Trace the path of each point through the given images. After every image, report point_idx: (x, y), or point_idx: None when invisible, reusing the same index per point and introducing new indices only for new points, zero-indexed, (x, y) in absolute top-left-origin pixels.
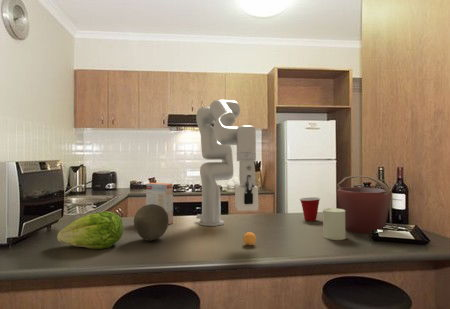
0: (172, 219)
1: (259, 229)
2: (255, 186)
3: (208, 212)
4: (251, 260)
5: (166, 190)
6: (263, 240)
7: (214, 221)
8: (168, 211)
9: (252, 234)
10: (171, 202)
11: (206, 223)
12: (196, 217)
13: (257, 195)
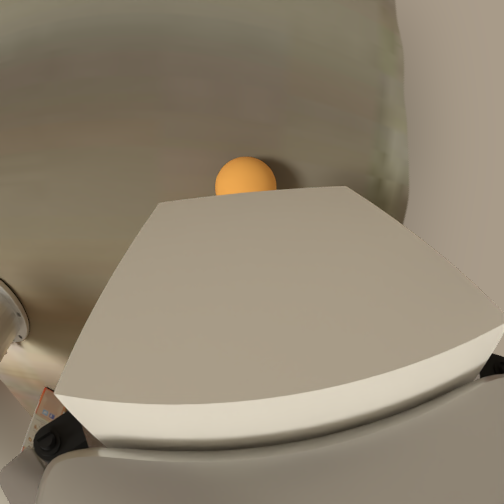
0: (43, 395)
1: (16, 138)
2: (400, 383)
3: (2, 345)
4: (401, 197)
5: None
6: (172, 113)
7: (7, 308)
8: (49, 420)
9: (263, 179)
10: (33, 432)
11: (21, 326)
12: (6, 352)
13: (426, 252)
